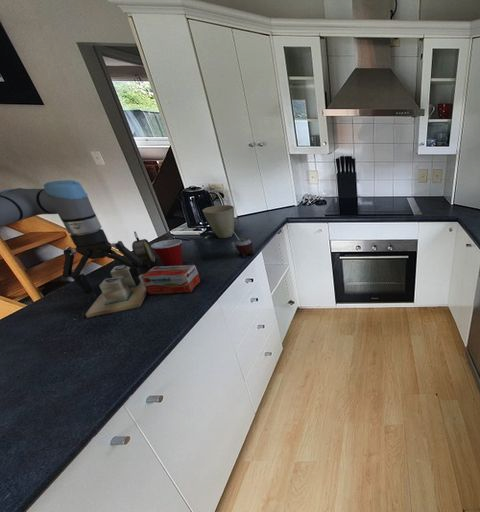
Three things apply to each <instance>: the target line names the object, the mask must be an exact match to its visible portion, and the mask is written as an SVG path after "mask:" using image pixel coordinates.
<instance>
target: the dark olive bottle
mask: <svg viewBox="0 0 480 512" xmlns="http://www.w3.org/2000/svg"><path fill="white" fill-rule="evenodd" d="M133 233H134V238H135V240H134V241H133V242H132V244H131V249H132V253H133V254H135V255H136V256H137V257H138V258H139V259H141V260H142V261H143V263H142V264H141V266H142V267H143V266H146V265H148V269H149V270H151V269H152V267H151V264H154V263H155V262H156V256H155V251H154V249H153V248H152V247H151V245H152V244H151V243H150V242H149V240H148V239H146V238H143V239H140V238H139V237H138V233H137V232H136V230H135V231H134V232H133Z"/></svg>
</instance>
